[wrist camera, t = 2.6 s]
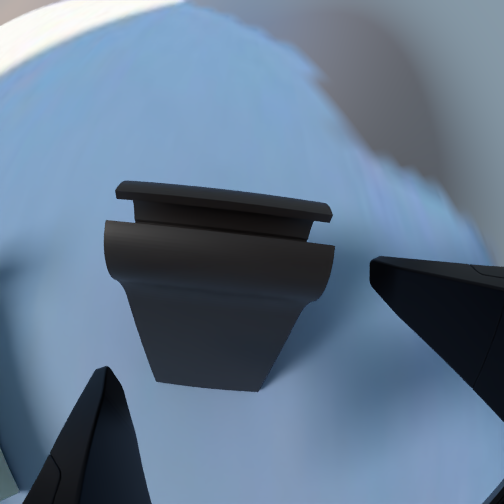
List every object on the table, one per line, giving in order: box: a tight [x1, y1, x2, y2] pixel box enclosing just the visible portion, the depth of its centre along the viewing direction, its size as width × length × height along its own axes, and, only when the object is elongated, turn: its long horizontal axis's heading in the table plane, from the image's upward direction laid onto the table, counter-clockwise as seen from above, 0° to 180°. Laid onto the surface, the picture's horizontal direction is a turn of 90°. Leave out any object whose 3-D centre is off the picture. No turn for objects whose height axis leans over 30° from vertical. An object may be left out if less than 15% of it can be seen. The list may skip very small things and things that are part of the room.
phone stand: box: [104, 181, 335, 392], centre depth 13 cm, size 9×6×12 cm, turn 175°
